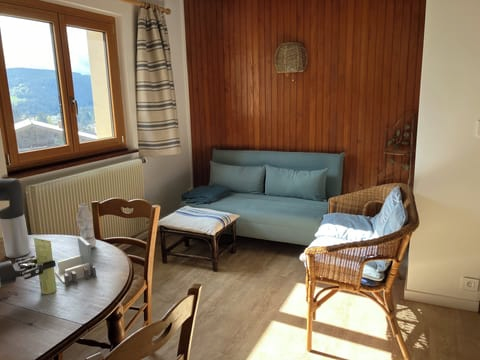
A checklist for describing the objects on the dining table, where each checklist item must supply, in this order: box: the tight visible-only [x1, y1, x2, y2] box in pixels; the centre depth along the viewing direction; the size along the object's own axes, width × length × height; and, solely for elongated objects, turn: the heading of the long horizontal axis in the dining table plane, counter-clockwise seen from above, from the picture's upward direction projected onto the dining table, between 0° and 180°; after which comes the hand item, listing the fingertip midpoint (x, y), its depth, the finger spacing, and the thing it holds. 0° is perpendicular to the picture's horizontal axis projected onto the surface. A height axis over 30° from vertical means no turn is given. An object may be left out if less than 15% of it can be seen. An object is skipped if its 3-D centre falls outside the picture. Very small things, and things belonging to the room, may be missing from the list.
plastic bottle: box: [76, 203, 97, 249], centre depth 171 cm, size 6×7×20 cm
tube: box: [33, 237, 57, 295], centre depth 135 cm, size 6×5×20 cm
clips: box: [63, 264, 97, 287], centre depth 144 cm, size 2×11×4 cm, turn 129°
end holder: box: [54, 236, 94, 285], centre depth 149 cm, size 11×11×12 cm
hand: (52, 260), depth 136 cm, fingers closed on tube, 5 cm apart
